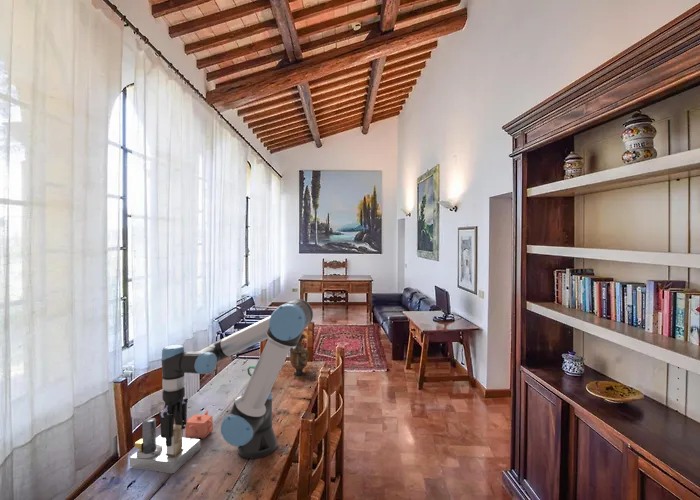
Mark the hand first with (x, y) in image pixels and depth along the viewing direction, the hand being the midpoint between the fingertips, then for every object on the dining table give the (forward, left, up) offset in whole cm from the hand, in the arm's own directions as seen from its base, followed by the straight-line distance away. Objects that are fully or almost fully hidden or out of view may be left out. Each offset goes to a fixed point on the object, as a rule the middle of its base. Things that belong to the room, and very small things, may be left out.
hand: (174, 450), depth 139 cm
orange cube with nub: (+3, -20, -5) cm, 21 cm away
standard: (+9, +2, -1) cm, 10 cm away
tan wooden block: (0, 0, -1) cm, 1 cm away
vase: (-14, -99, -5) cm, 100 cm away
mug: (+4, -82, -5) cm, 82 cm away
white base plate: (+5, -2, -5) cm, 7 cm away
